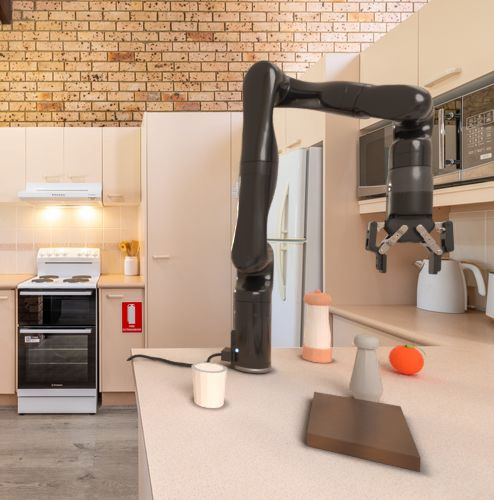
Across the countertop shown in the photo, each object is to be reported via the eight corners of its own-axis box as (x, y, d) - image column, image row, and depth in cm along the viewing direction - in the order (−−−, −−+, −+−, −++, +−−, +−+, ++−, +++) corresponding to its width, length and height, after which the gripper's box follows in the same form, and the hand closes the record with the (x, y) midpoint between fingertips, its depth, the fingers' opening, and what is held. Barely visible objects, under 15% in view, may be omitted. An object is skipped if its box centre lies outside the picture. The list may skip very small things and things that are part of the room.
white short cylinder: (227, 398, 79) (228, 363, 79) (225, 411, 72) (225, 374, 72) (193, 393, 81) (194, 360, 81) (188, 406, 75) (188, 370, 75)
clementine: (416, 370, 98) (416, 342, 98) (435, 379, 91) (436, 349, 91) (382, 369, 99) (382, 341, 99) (399, 378, 92) (399, 348, 92)
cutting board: (306, 445, 60) (306, 432, 60) (314, 401, 78) (314, 391, 78) (420, 471, 53) (420, 457, 53) (400, 417, 71) (400, 406, 71)
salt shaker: (388, 407, 75) (389, 339, 75) (355, 404, 76) (356, 338, 76) (375, 396, 81) (376, 333, 81) (344, 393, 82) (345, 331, 82)
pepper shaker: (320, 364, 103) (321, 291, 103) (296, 357, 109) (297, 288, 109) (337, 360, 106) (338, 290, 106) (313, 354, 113) (314, 287, 112)
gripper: (442, 193, 79) (441, 273, 79) (362, 195, 83) (360, 271, 83) (462, 188, 72) (460, 276, 72) (373, 190, 76) (372, 273, 76)
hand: (407, 273), depth 78 cm, fingers open, 8 cm apart
